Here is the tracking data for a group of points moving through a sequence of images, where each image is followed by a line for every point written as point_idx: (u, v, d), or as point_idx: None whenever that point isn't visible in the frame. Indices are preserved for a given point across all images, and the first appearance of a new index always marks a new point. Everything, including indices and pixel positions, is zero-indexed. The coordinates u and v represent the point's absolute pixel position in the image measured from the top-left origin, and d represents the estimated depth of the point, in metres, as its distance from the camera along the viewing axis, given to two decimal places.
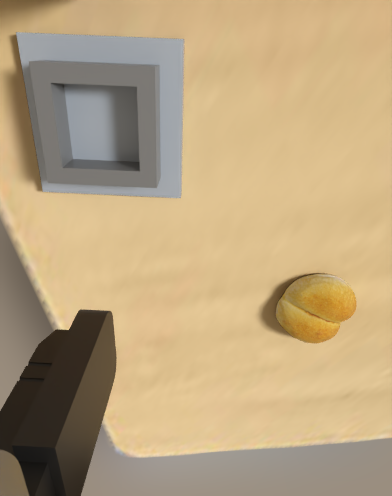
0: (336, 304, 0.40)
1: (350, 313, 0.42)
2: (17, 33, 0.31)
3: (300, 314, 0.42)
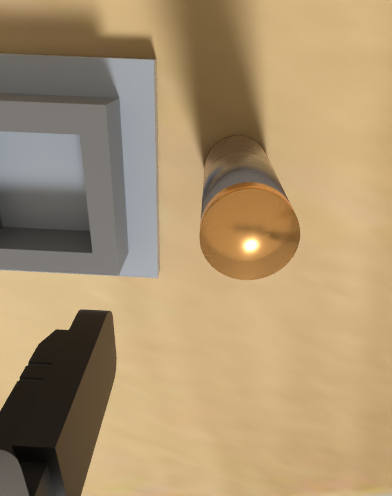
0: None
1: None
2: (152, 61, 0.20)
3: None
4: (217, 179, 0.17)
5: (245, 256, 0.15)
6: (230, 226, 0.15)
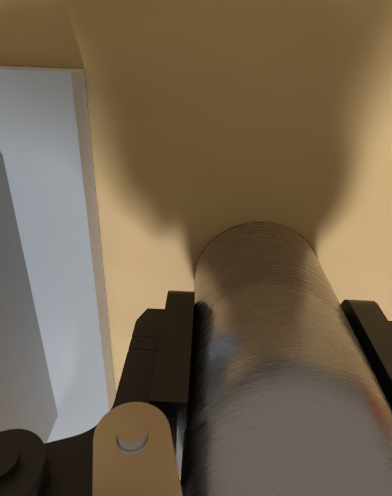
0: None
1: None
2: (67, 76, 0.09)
3: None
4: (225, 467, 0.05)
5: None
6: None
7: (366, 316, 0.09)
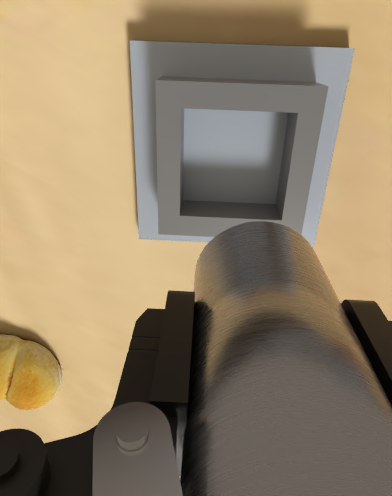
0: (31, 400, 0.36)
1: (23, 409, 0.38)
2: (352, 49, 0.23)
3: (5, 370, 0.35)
4: (226, 466, 0.05)
5: None
6: None
7: (366, 316, 0.09)
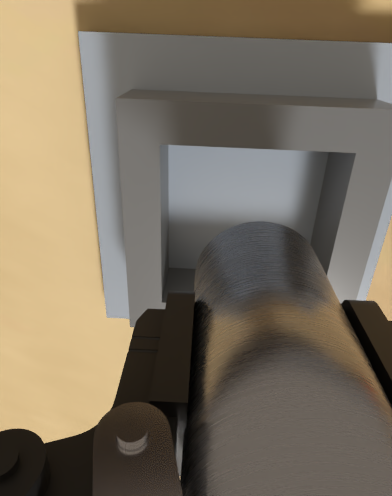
0: None
1: None
2: None
3: None
4: (226, 467, 0.05)
5: None
6: None
7: (366, 316, 0.09)
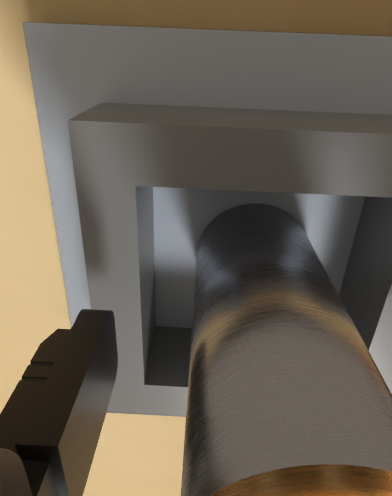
0: None
1: None
2: None
3: None
4: (224, 377, 0.06)
5: None
6: None
7: None
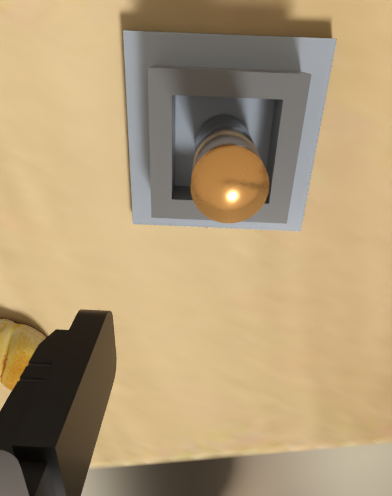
0: None
1: None
2: (335, 40, 0.24)
3: (0, 352, 0.36)
4: (204, 144, 0.21)
5: (227, 203, 0.19)
6: (214, 178, 0.19)
7: None
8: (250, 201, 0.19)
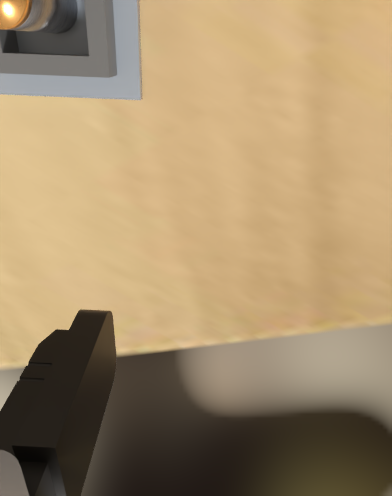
0: None
1: None
2: None
3: None
4: None
5: None
6: None
7: None
8: (12, 4, 0.22)
